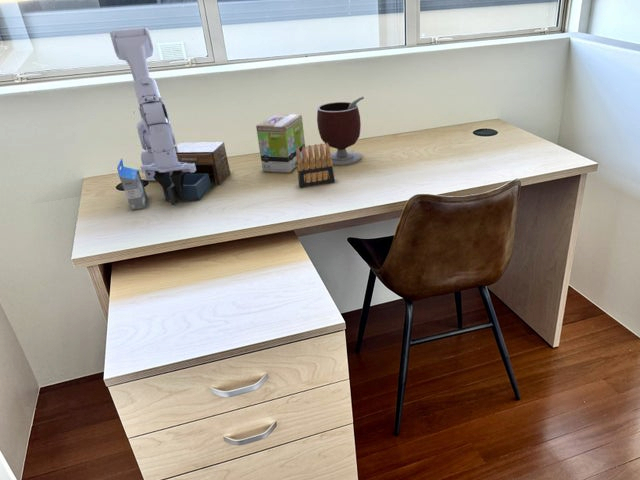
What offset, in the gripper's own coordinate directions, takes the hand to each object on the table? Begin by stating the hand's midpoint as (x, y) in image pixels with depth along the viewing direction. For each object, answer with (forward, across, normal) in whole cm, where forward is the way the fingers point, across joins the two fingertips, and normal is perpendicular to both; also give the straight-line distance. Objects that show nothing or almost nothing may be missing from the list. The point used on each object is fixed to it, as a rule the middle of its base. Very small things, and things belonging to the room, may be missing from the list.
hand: (176, 196), depth 156 cm
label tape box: (+3, -12, +1) cm, 12 cm away
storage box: (+2, 0, +5) cm, 6 cm away
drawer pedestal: (+2, 0, +20) cm, 20 cm away
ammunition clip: (+3, +37, +15) cm, 40 cm away
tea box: (+3, +23, +33) cm, 40 cm away
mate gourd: (+3, +42, +38) cm, 57 cm away
